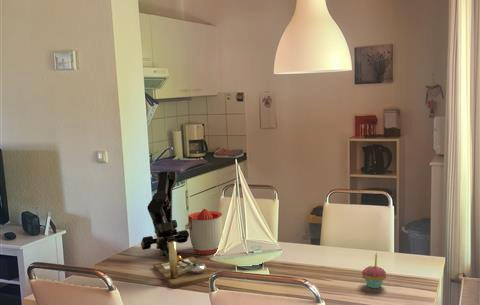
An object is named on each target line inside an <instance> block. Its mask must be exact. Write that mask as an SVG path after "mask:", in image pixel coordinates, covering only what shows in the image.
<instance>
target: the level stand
mask: <svg viewBox="0 0 480 305" xmlns="http://www.w3.org/2000/svg"><path fill="white" fill-rule="evenodd" d="M182 260H184V261H186V262H188V263H190V264H192V263H201V261H199V260H198V259H197V258H195V256H189V257H183V258H182ZM177 265H178V270H181V269H185V268H188V265H187V264H185V263H183V262H177ZM153 268H154V269H155V270H156V272H157V273H158V274H159V275H160V276H161V277H162V278H163V279H164V280H165V281H166V282H167V283H168V284H169V286H170V287H171V288H172V289H178V288H182V287H187V286H191V285H196V284H201V283H205V282H209V281H210V280H209V277H210V275H211V274H212V273H214V272H213V271H212V270H210V269H209V268H208V267H206V270H205V272H203V273H199V274H192V273H189V272H185V273H182V274H179V275H178V277H177V278H171V277H170V263H169V260H168V261H164V262H159V263H154V264H153ZM208 280H209V281H208ZM204 281H205V282H204ZM200 282H201V283H200Z"/></svg>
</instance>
